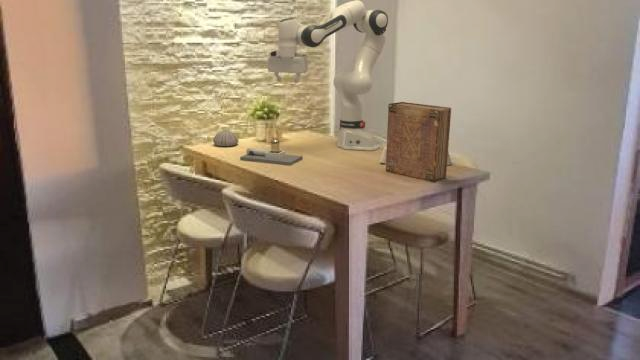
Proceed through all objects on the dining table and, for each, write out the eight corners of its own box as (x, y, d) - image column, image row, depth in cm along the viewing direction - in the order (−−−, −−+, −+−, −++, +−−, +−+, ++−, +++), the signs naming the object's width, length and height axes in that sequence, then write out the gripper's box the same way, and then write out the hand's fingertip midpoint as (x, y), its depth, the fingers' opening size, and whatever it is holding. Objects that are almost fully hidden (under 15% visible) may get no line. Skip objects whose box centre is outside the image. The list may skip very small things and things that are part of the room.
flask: (441, 161, 263) (443, 141, 260) (454, 164, 258) (456, 143, 255) (432, 164, 258) (434, 143, 255) (445, 166, 253) (447, 145, 250)
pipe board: (302, 159, 264) (302, 150, 262) (290, 165, 251) (290, 155, 250) (254, 154, 273) (254, 145, 272) (240, 159, 260) (240, 150, 259)
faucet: (406, 169, 266) (412, 150, 266) (383, 163, 254) (389, 142, 254) (400, 168, 269) (406, 148, 269) (377, 161, 257) (382, 141, 257)
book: (446, 178, 233) (451, 107, 225) (434, 182, 227) (439, 109, 219) (397, 167, 250) (401, 101, 242) (385, 171, 244) (388, 103, 236)
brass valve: (281, 156, 262) (281, 139, 260) (277, 158, 258) (276, 141, 256) (273, 155, 264) (273, 139, 261) (269, 157, 260) (269, 140, 258)
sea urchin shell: (208, 145, 292) (207, 130, 290) (228, 141, 302) (227, 127, 300) (224, 149, 284) (224, 133, 282) (244, 145, 294) (243, 130, 292)
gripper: (309, 53, 264) (309, 82, 268) (271, 52, 272) (271, 80, 275) (304, 53, 259) (304, 83, 262) (265, 52, 266) (266, 81, 270)
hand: (287, 82), depth 269 cm, fingers open, 8 cm apart
